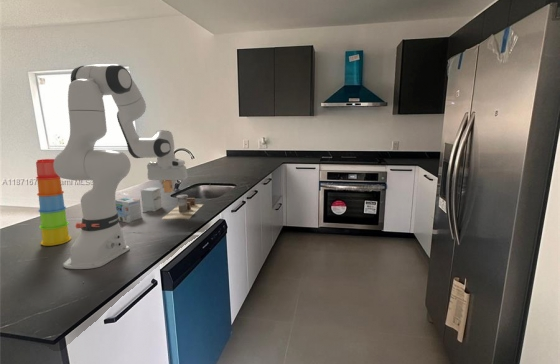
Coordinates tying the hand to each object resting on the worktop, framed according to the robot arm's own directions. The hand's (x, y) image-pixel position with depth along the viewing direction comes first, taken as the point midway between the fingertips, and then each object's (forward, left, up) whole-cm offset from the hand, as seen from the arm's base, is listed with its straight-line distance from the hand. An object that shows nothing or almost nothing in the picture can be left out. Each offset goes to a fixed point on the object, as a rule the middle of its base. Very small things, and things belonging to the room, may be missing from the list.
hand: (168, 188), depth 158 cm
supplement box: (+5, +12, -14) cm, 20 cm away
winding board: (+1, -7, -14) cm, 16 cm away
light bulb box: (-10, +17, -14) cm, 25 cm away
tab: (0, 0, -2) cm, 2 cm away
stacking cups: (-37, +34, -14) cm, 52 cm away
